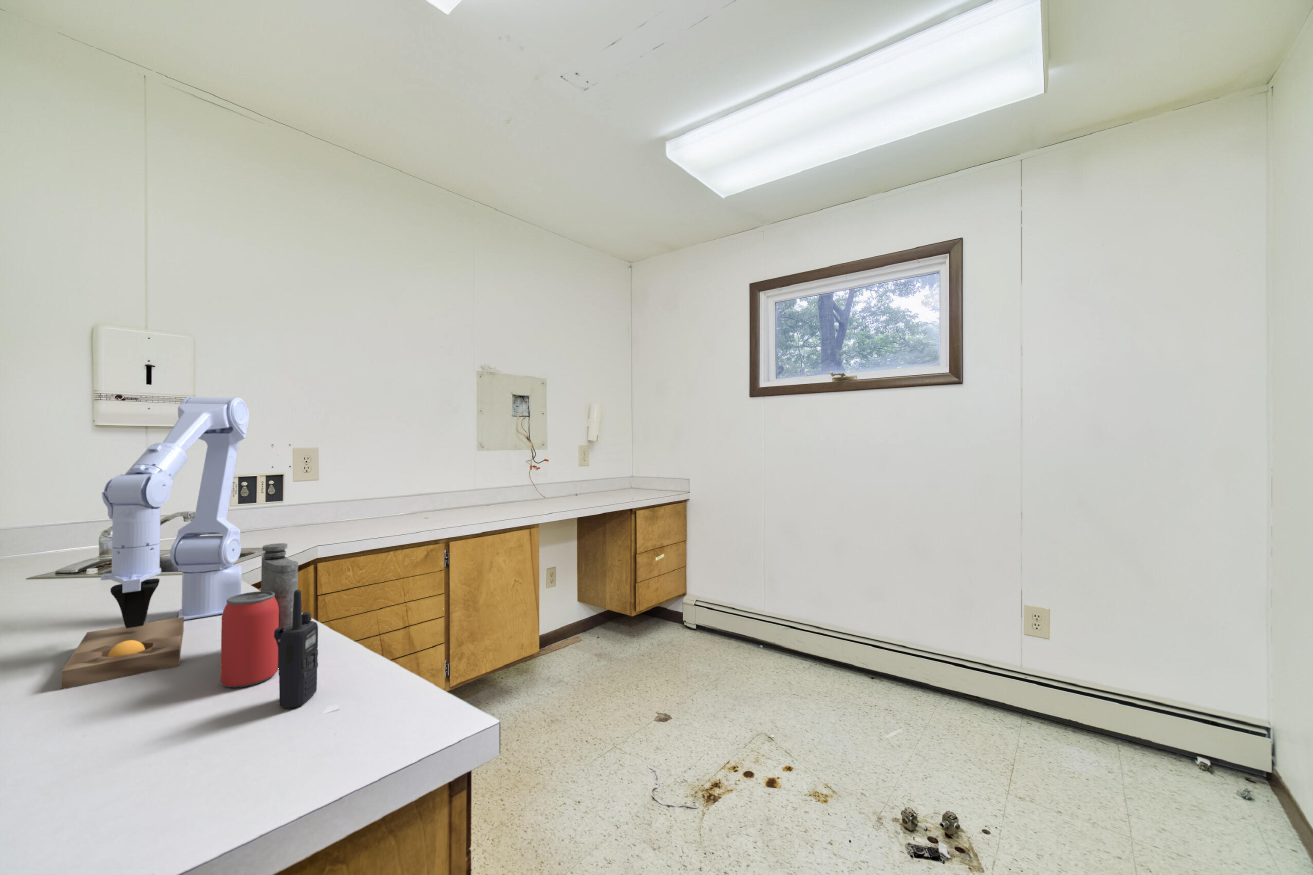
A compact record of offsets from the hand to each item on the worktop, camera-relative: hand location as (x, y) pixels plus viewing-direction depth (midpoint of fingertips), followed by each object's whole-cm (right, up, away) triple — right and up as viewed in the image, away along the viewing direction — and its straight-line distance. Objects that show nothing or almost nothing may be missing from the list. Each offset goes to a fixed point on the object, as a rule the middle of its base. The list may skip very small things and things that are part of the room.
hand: (135, 625), depth 87 cm
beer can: (+29, -4, -12) cm, 31 cm away
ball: (+7, -1, -8) cm, 11 cm away
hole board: (+3, -4, -4) cm, 6 cm away
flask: (+26, -4, -3) cm, 26 cm away
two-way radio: (+40, -4, -18) cm, 44 cm away
